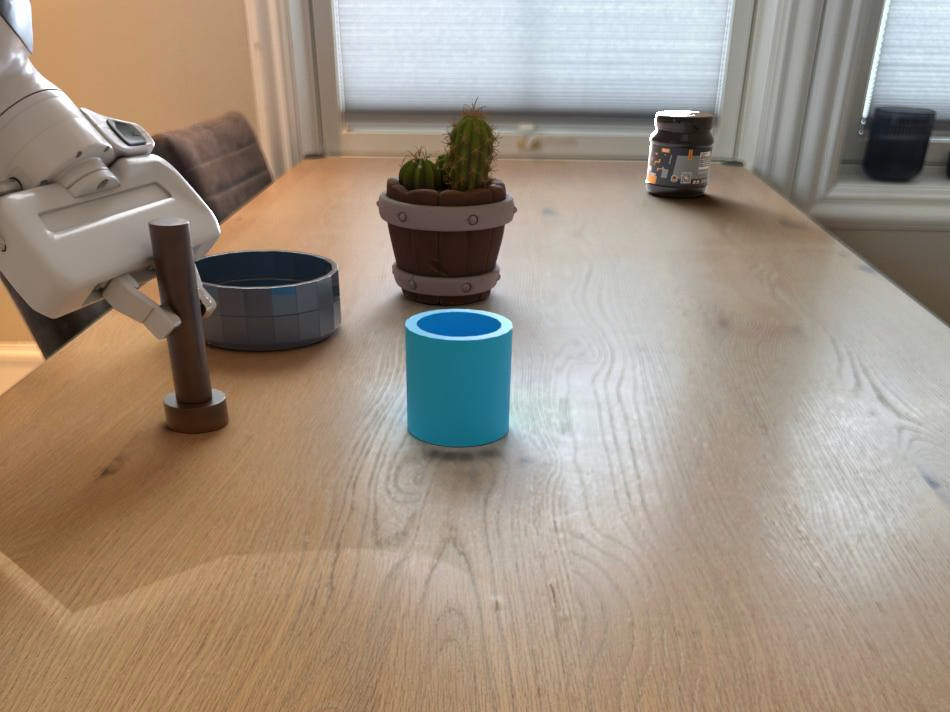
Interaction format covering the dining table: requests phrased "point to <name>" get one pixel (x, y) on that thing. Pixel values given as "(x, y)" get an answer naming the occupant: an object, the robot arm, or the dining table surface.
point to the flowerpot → (449, 217)
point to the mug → (458, 376)
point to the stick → (185, 332)
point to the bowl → (270, 299)
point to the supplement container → (680, 154)
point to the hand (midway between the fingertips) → (190, 323)
